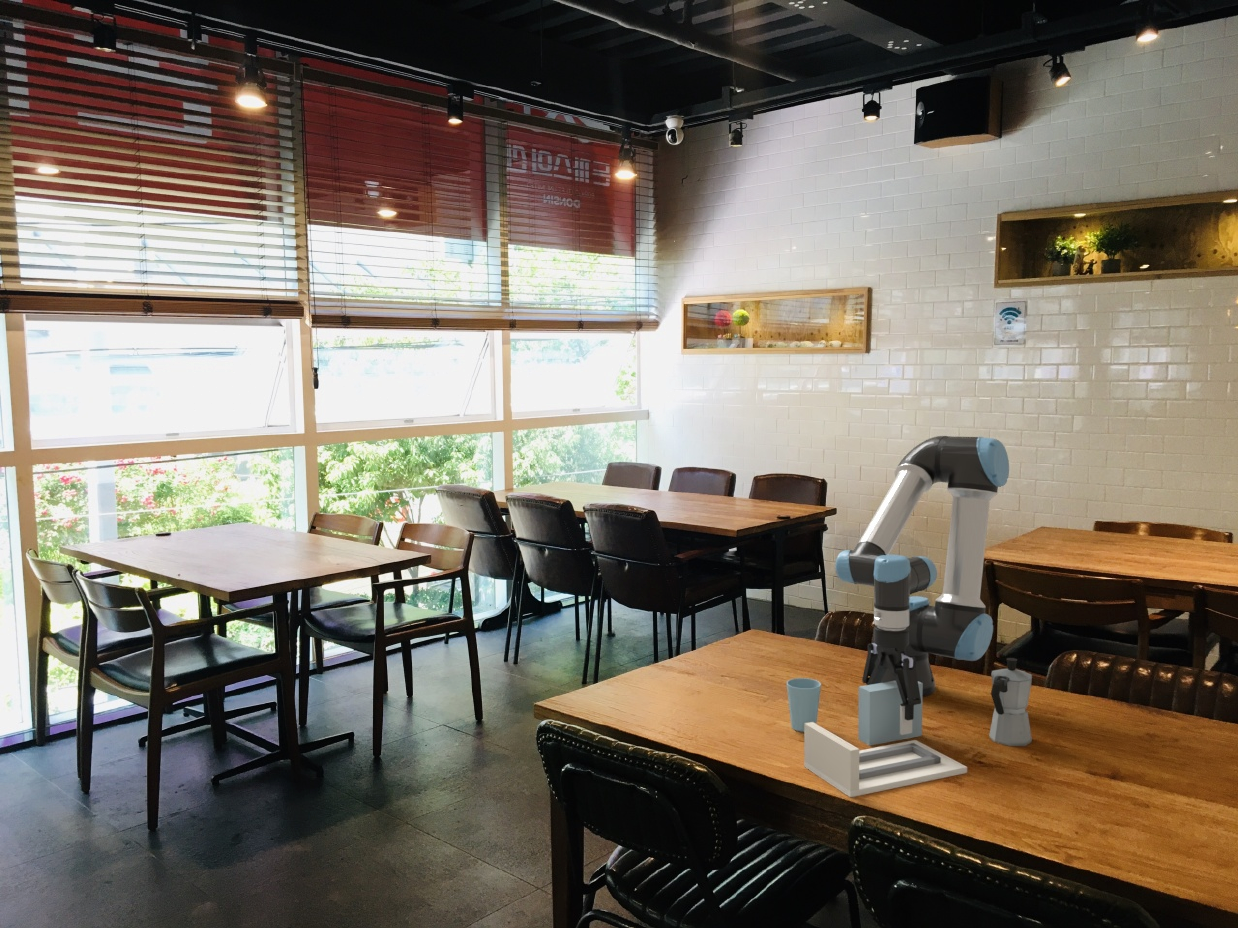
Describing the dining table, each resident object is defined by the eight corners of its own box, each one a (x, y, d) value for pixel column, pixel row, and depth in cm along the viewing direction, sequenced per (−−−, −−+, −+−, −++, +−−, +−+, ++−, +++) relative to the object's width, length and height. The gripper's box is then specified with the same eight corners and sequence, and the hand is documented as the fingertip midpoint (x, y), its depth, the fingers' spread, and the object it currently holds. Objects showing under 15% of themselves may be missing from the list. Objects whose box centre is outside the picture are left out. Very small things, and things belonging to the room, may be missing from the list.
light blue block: (910, 729, 224) (910, 677, 223) (921, 735, 220) (922, 683, 219) (858, 739, 219) (858, 686, 218) (869, 745, 215) (869, 691, 214)
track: (915, 745, 215) (915, 703, 214) (967, 772, 200) (967, 728, 199) (804, 766, 204) (804, 723, 204) (850, 797, 190) (850, 750, 189)
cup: (828, 730, 224) (827, 685, 223) (799, 735, 221) (799, 690, 220) (808, 719, 231) (808, 676, 230) (780, 725, 228) (780, 680, 227)
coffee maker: (1003, 726, 225) (1005, 648, 223) (1042, 736, 219) (1044, 656, 217) (972, 744, 215) (974, 663, 213) (1012, 755, 208) (1014, 671, 207)
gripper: (846, 616, 226) (845, 711, 228) (910, 641, 205) (909, 745, 208) (873, 613, 229) (873, 706, 231) (940, 637, 208) (938, 739, 210)
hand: (890, 725), depth 219 cm, fingers open, 10 cm apart
